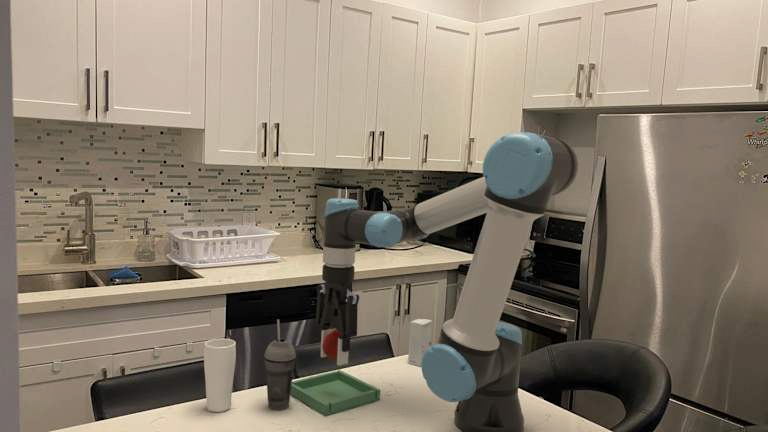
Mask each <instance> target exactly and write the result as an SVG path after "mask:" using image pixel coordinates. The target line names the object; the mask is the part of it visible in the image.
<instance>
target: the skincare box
mask: <svg viewBox="0 0 768 432" xmlns="http://www.w3.org/2000/svg"><path fill="white" fill-rule="evenodd" d="M432 333H433V320H432V319H426V318H422V317H419V318H418V319H413V320H412V321H410V322H409V337H408V353H407V354H408V356H407V358H408V359H407V363H408V364H410V365H413V366H416V367H421V364H422V358H423V355H424V353H425V352H426V350H427V349H429V347H430V346H432V336H433V335H432Z"/></svg>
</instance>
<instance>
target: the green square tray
mask: <svg viewBox="0 0 768 432" xmlns="http://www.w3.org/2000/svg"><path fill="white" fill-rule="evenodd" d="M290 397H292V398H294V399H296V400H297V401H299V402H300V403H303V404H304V405H306V406H307V407H309V408H311V409H312V410H314V411H315V412H318V414H319V413H320V415H322V416H324V417H328V416H330V415H334V414H339V413H341V412H344V411H345V412H346V411H347V410H352V409H354V408H357V407H361V406H365V405H368V404H371V403H376V402H377V401H380V400H381V389H380V388H378V387H375V386H374V385H371V384H370V383H367V382H365V381H363V380H361V379H359V378H358V377H357V378H356V377H355V376H352V375H351V374H349V373H347V372H345V371H343V370H341V369H338V370H336V371H330V372H326V373H322V374H318V375H314V376H309V377H305V378H302V379H298V380H292V385H291V393H290Z"/></svg>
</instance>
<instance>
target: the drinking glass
mask: <svg viewBox="0 0 768 432" xmlns="http://www.w3.org/2000/svg"><path fill="white" fill-rule="evenodd" d="M236 345H237V344H236V341H235V340H233V339H230V338H212V339H209V340H207V341H205V343H204V349H203V350H204V353H203V364H204V365H203V367H204V379H205V380H204V381H205V396H206V402H205V403H206V409H207V411H209V412H213V413H222V412H226V411H228V410H229V409H230V408H231V406H232V395H233V386H234V377H235V369H236V359H237V354H236V353H237V350H236V349H237V346H236Z"/></svg>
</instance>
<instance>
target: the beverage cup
mask: <svg viewBox="0 0 768 432" xmlns="http://www.w3.org/2000/svg"><path fill="white" fill-rule="evenodd" d="M276 323H277V339H274V340H272V341H271V342H270V343H269V344H268V346H267V347H266V350H265V352H264V356H263V359H264V366H265V372H266V391H267V393H266V394H267V404H268V405H267V406H268V408H269V410H272V411H276V412H277V411H278V412H279V411H285V410H287V409H288V408H289V404H290V401H291V400H290V399H291V395H290V393H291V385H292V381H293V376H294V375H293V374H294V368H295V364H296V360H297V353H296V349H295V347H294V345H293V344H292V342H290V341H289V340H288V339H285V338H281V327H280V319H276Z"/></svg>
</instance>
